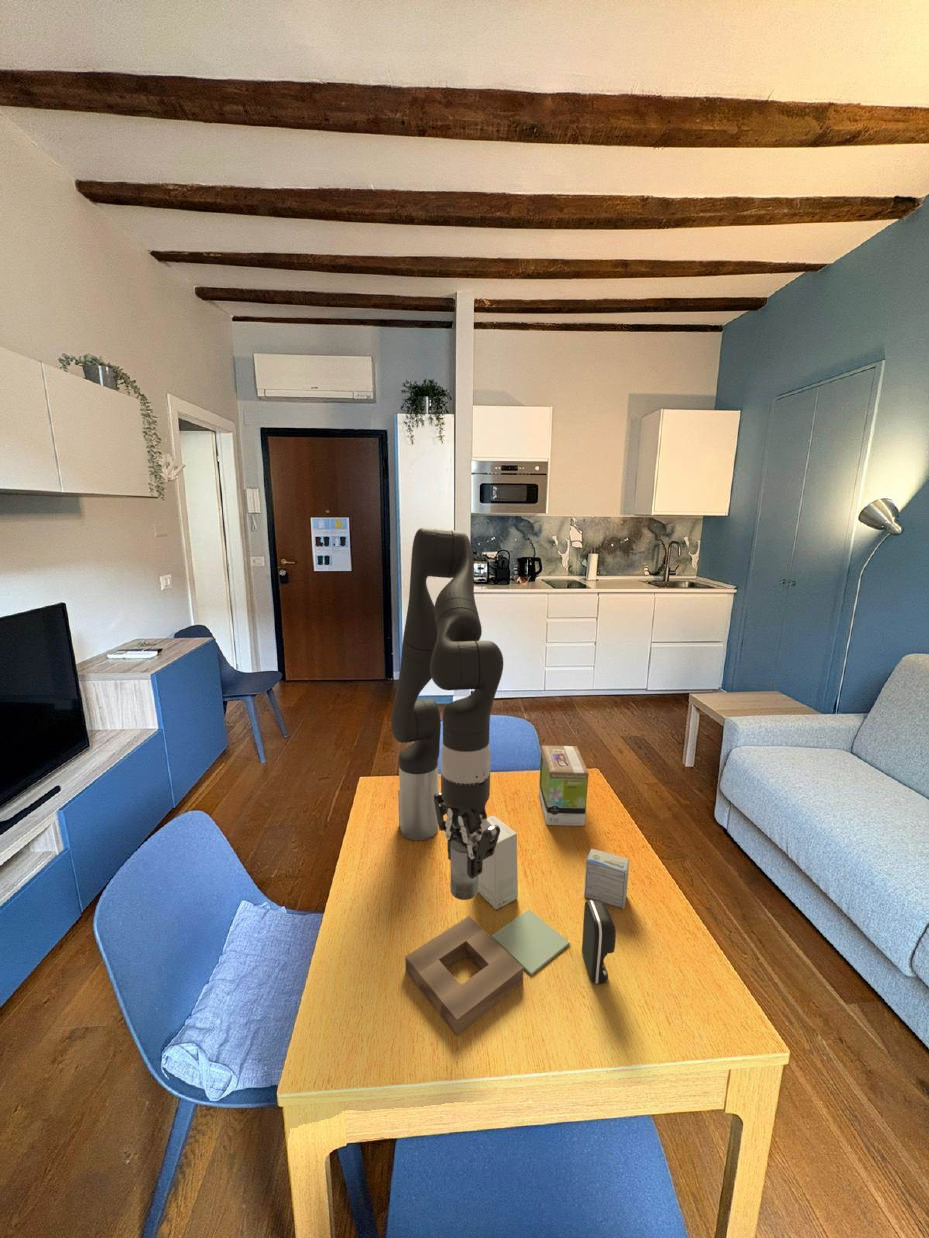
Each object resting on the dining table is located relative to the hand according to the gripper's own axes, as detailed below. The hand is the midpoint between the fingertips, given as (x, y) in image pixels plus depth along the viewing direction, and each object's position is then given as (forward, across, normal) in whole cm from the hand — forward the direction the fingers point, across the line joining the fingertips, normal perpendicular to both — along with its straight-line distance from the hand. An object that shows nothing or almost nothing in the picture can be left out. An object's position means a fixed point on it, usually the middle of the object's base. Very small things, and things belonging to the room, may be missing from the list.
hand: (464, 866), depth 81 cm
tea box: (+22, -22, +51) cm, 60 cm away
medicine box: (+21, +4, +34) cm, 40 cm away
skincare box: (+21, -11, +17) cm, 29 cm away
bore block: (+21, 0, 0) cm, 21 cm away
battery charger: (+21, +13, +19) cm, 31 cm away
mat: (+21, +2, +14) cm, 25 cm away
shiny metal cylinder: (+4, 0, 0) cm, 4 cm away
